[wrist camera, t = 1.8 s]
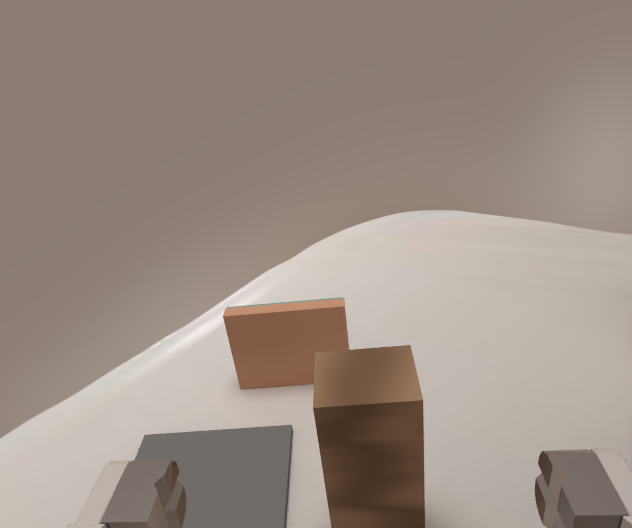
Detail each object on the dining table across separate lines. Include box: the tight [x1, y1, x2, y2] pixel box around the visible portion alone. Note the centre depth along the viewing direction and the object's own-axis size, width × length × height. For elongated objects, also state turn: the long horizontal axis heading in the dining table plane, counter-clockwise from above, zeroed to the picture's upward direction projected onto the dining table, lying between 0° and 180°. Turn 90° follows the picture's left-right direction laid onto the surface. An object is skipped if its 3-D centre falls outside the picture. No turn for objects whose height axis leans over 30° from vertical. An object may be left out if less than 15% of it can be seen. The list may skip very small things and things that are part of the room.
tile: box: [223, 297, 349, 389], centre depth 44 cm, size 10×2×8 cm, turn 89°
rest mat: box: [135, 425, 293, 528], centre depth 36 cm, size 12×12×1 cm
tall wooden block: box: [313, 345, 425, 528], centre depth 29 cm, size 5×5×14 cm
